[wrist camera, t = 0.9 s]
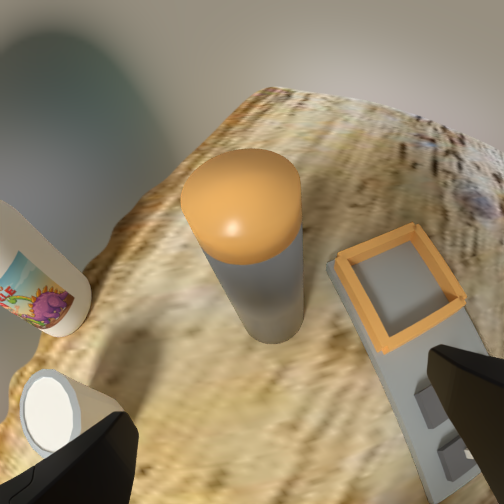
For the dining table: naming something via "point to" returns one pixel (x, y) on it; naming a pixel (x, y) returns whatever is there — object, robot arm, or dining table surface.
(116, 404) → the white tapered cup
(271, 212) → the grey orange cylinder
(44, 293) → the milk bottle
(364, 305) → the breaker panel
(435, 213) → the dining table surface
